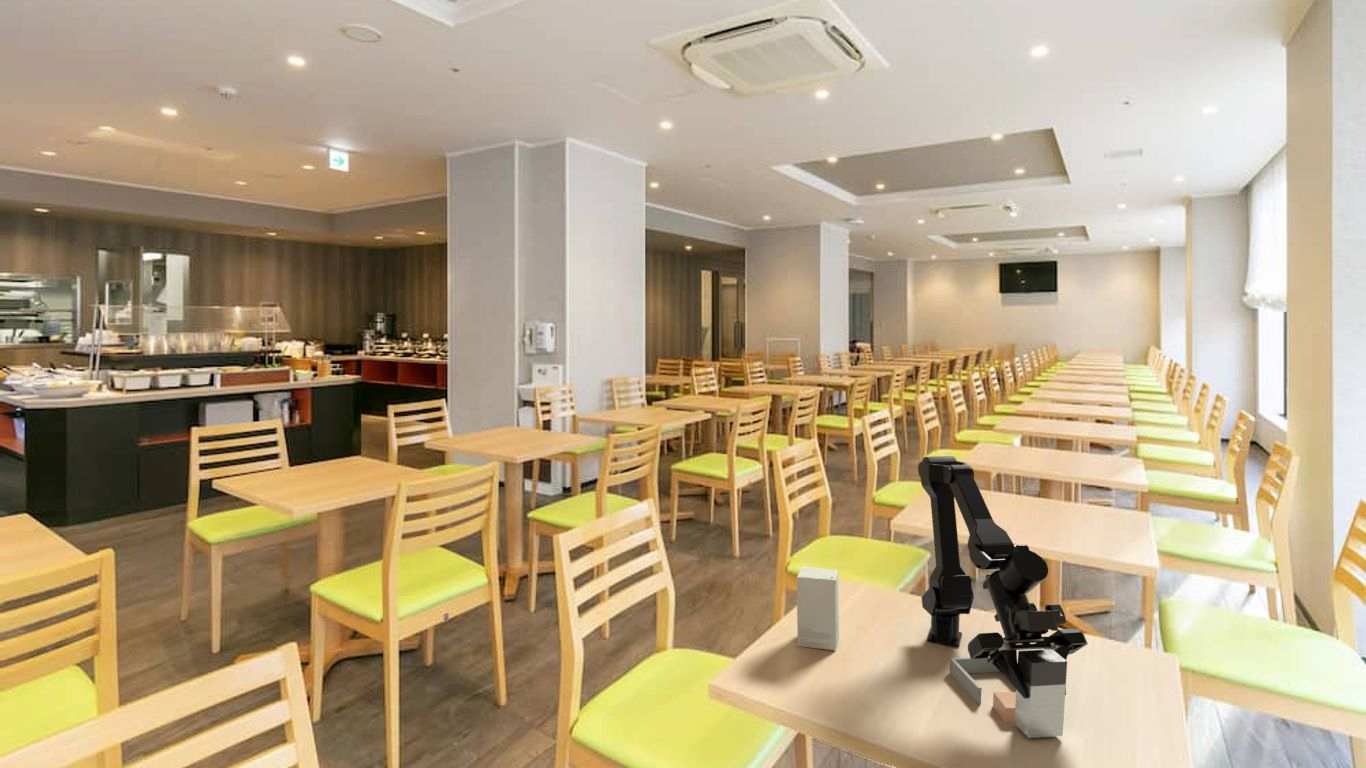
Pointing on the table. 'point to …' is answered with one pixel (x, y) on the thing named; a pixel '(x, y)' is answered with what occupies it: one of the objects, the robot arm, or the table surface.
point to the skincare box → (818, 608)
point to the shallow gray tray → (967, 665)
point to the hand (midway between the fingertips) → (1045, 696)
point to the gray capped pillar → (1041, 693)
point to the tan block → (1005, 705)
